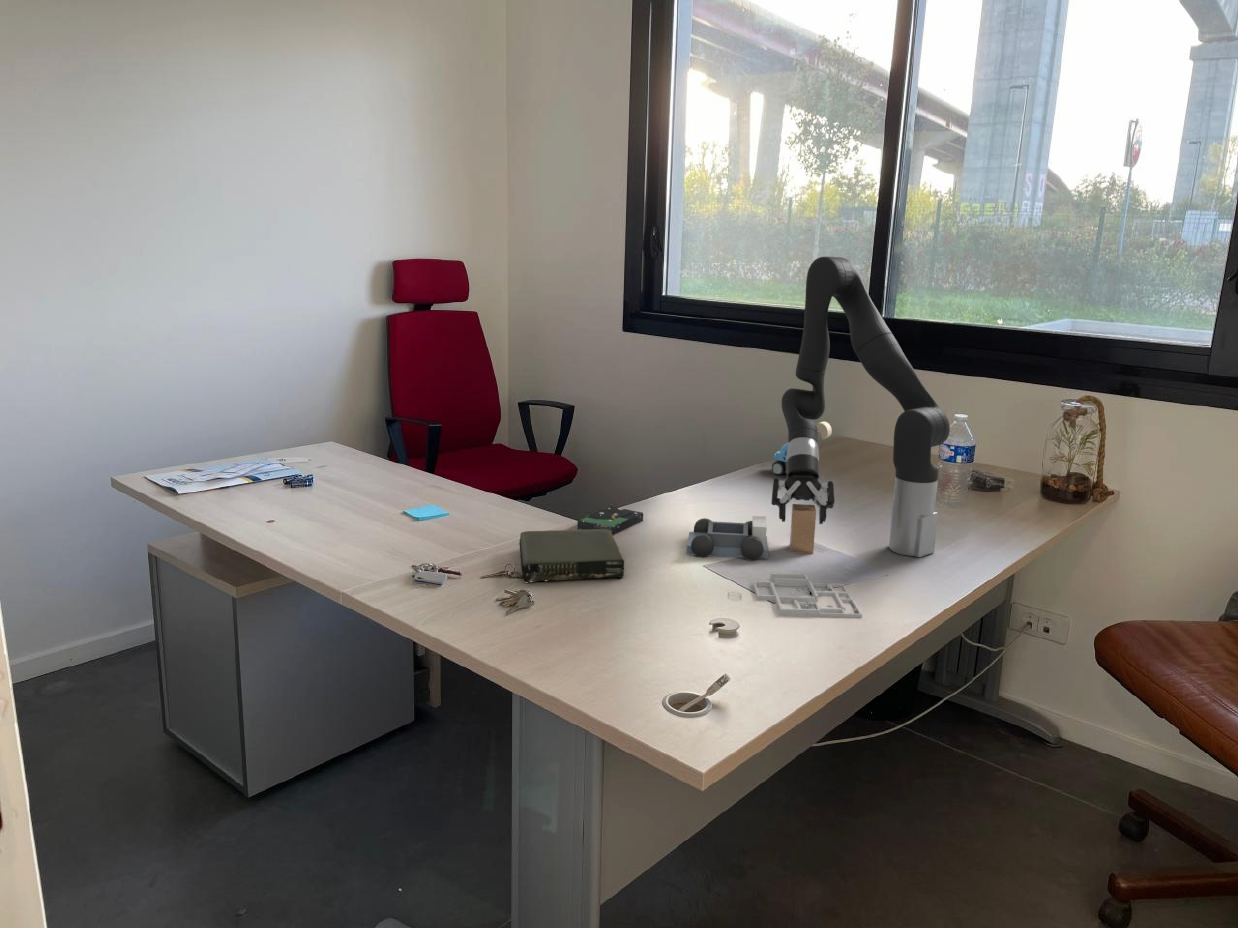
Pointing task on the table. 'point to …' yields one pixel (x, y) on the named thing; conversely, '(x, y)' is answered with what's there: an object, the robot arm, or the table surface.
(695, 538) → the chassis
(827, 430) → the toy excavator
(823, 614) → the floor plan model
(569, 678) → the table surface
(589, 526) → the disk drive
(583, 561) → the network switch
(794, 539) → the brown rectangular block
